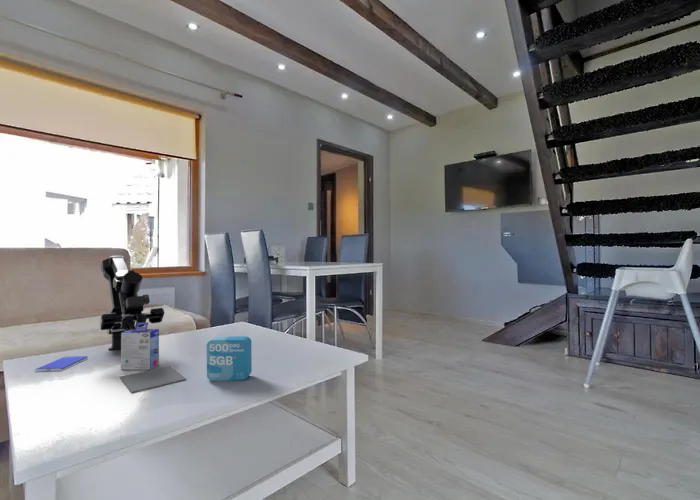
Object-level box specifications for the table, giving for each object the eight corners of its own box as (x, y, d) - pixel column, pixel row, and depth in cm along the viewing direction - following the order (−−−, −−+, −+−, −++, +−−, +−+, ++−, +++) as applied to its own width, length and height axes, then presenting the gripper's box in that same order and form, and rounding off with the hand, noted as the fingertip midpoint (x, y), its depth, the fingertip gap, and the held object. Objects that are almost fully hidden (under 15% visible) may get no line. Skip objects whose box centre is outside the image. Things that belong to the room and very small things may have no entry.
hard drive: (63, 356, 124) (34, 368, 112) (87, 355, 125) (62, 367, 113) (63, 361, 124) (34, 373, 112) (87, 360, 125) (62, 372, 113)
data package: (206, 381, 102) (206, 340, 102) (212, 375, 107) (212, 336, 107) (247, 380, 102) (247, 339, 102) (251, 375, 107) (251, 336, 107)
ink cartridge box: (160, 364, 118) (159, 321, 118) (150, 370, 112) (150, 325, 112) (131, 364, 118) (130, 321, 118) (120, 370, 112) (119, 325, 112)
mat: (119, 377, 106) (119, 376, 106) (169, 366, 115) (169, 365, 115) (131, 393, 94) (131, 391, 94) (186, 379, 103) (186, 378, 103)
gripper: (100, 289, 116) (106, 328, 108) (162, 285, 129) (172, 319, 120) (97, 311, 122) (103, 348, 113) (157, 304, 134) (165, 338, 126)
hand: (137, 338), depth 118 cm, fingers closed
